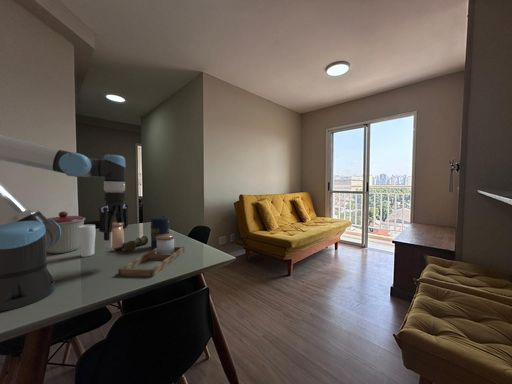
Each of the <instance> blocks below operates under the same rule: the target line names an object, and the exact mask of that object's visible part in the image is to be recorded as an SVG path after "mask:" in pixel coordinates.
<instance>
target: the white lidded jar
mask: <svg viewBox="0 0 512 384" xmlns="http://www.w3.org/2000/svg"><path fill="white" fill-rule="evenodd" d="M175 236H176V235H175V233H169V234H161V235H157V236H156V239H157V254H173V253H175V252H174V247H175Z"/></svg>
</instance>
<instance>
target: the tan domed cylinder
mask: <svg viewBox="0 0 512 384" xmlns="http://www.w3.org/2000/svg"><path fill="white" fill-rule="evenodd" d="M111 232H112V248H111V249H113V248H118V247H121V246H123V222H117V221H113V223H112V228H111Z"/></svg>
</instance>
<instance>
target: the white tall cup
mask: <svg viewBox="0 0 512 384" xmlns="http://www.w3.org/2000/svg"><path fill="white" fill-rule="evenodd" d="M96 234H97V233H96V224H84V225H82V226H78V238H79V245H80V247H79V250H80V257H82V258H87V257H91V256H93V255H95V248H96V247H95V245H96V243H95V242H96Z"/></svg>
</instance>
